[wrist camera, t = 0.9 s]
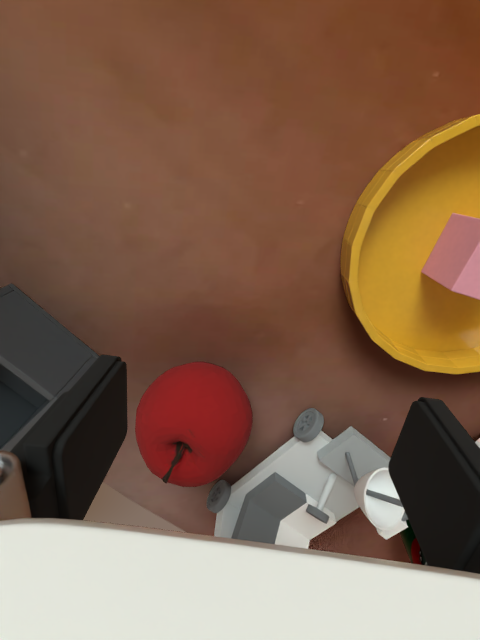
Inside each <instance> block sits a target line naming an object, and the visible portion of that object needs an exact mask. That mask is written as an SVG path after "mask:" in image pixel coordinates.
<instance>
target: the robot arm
mask: <svg viewBox="0 0 480 640" xmlns="http://www.w3.org/2000/svg"><path fill="white" fill-rule="evenodd" d="M126 433H127V369H126V363H125V362H121V358H120V357H117V356H110V355H101V356H99V358H98V359H97V360H96V361H95V362H94V363H93V364H92V366H91V367H90V368H89V369H88V370H87V371H86V372H85V373H84V375H83V376H82V377H81V378H80V379H79V380H78V381H77V383H76V384H75V385H74V386H73V387H72V388H71V389H70V390H69V391H67V392H64V393H63V394H62V395H61V396H60V397H59V398H58V399H57V400H56V401H55V402H54V403H53V404H52V406H51V407H50V408H49V409H48V410H47V411H46V412H45V413H44V414H43V415H42V417H41V418H40V419H39V420H38V421H37V422H36V423H35V424H34V425H33V427H32V428H31V429H30V430H29V431H28V432H27V433H26V434H25V435H24V437H23V438H22V439H21V440H20V441H19V442H18V443H17V444H16V445H15V446H14V448H13V449H12V450H11V451H10V452H8V451H3V450H0V640H480V448H479V447H478V445H477V444H476V443H475V442H474V440H473V439H472V438H471V437H470V435H469V434H468V433H467V431H466V430H465V429H464V428H463V426H462V425H461V424H460V423H459V421H458V420H457V419H456V418H455V416H454V415H453V414H452V413H451V411H450V410H449V409H448V407H447V406H446V405H445V404H444V402H443V401H441V400H439V399H432V398H424V397H421V398H419V399H418V401H414V402H413V403H412V405H411V407H410V410H409V413H408V415H407V418H406V420H405V423H404V425H403V428H402V430H401V433H400V436H399V438H398V441H397V443H396V446H395V448H394V451H393V453H392V456H391V459H390V461H389V465H388V470H389V475H390V477H391V480H392V482H393V484H394V487H395V489H396V491H397V494H398V496H399V498H400V501H401V503H402V505H403V508H404V510H405V513H406V515H407V517H408V520H409V522H410V524H411V527H412V529H413V531H414V534H415V536H416V539H417V541H418V543H419V546H420V548H421V550H422V553H423V555H424V557H425V560H426V562H427V564H428V566H426V565H419V564H412V563H405V562H398V561H391V560H384V559H377V558H370V557H363V556H356V555H349V554H342V553H334V552H327V551H320V550H313V549H305V548H298V547H291V546H283V545H276V544H269V543H261V542H254V541H246V540H239V539H232V538H224V537H216V536H209V535H201V534H193V533H186V532H178V531H170V530H163V529H155V528H147V527H139V526H131V525H121V524H113V523H104V522H95V521H86V520H83V519H84V517H85V515H86V513H87V511H88V509H89V507H90V505H91V503H92V501H93V499H94V497H95V495H96V493H97V492H98V490H99V488H100V485H101V484H102V482H103V480H104V478H105V476H106V474H107V472H108V470H109V468H110V466H111V464H112V462H113V460H114V459H115V457H116V455H117V453H118V451H119V449H120V447H121V445H122V443H123V441H124V439H125V437H126Z"/></svg>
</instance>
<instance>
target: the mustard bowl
mask: <svg viewBox="0 0 480 640" xmlns="http://www.w3.org/2000/svg"><path fill="white" fill-rule="evenodd" d="M452 213H456V214H460V215H465V216H470V217H474V218H479V219H480V114H479V115H474V116H470V117H466V118H462V119H459V120H455V121H452V122H450V123H448V124H446V125H444V126H441V127H439V128H437V129H435V130H433V131H431V132H428V133H426V134H425V135H423V136H421V137H420V138H418V139H416V140H414V141H413V142H412V143H410V144H408V145H407V146H406V147H405V148H403V149H402V150H401V151H400V152H398V153H397V154H396V155H394V156H393V157H392V158H391V159H390V160H389V161H388V162H387V163H386V164H385V165H384V166H383V167H382V168H381V169H380V170H379V171H378V172H377V174H376V175H375V176H374V177H373V179H372V180H371V181H370V182H369V183H368V185H367V186H366V188H365V189H364V191H363V193H362V194H361V196H360V197H359V199H358V201H357V203H356V205H355V207H354V209H353V211H352V213H351V215H350V218H349V221H348V223H347V226H346V229H345V233H344V237H343V242H342V247H341V259H340V265H341V278H342V283H343V288H344V291H345V294H346V297H347V301H348V304H349V305H350V307H351V308H352V310H353V312H354V313H355V315H356V316H357V318H358V320H359V321H360V323H361V325H362V326H363V328H364V329H365V331H366V332H367V334H368V335H369V337H370V338H371V339H372V341H374V342H375V343H376V344H377V345H378V346H380V347H381V348H382V349H383V350H384V351H386V352H387V353H388V354H389V355H391V356H392V357H393V358H395V359H396V360H399V361H401V362H404V363H406V364H409V365H411V366H414V367H416V368H418V369H421V370H424V371H430V372H439V373H448V374H464V373H473V372H480V300H478V299H475V298H472V297H469V296H465V295H462V294H459V293H456V292H453V291H450V290H449V289H447V288H446V287H444V286H442V285H441V284H439V283H438V282H436V281H435V280H433V279H431V278H430V277H428V276H427V275H425V274H423V273H422V272H421V271H422V269H423V267H424V265H425V263H426V261H427V260H428V258H429V256H430V254H431V252H432V250H433V248H434V246H435V245H436V243H437V241H438V239H439V237H440V235H441V233H442V232H443V230H444V228H445V226H446V224H447V222H448V220H449V219H450V217H451V215H452Z"/></svg>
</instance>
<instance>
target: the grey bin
mask: <svg viewBox="0 0 480 640" xmlns="http://www.w3.org/2000/svg"><path fill="white" fill-rule="evenodd" d="M98 358H99V356H98V355H97V354H96V353H95V352H94V351H92V350H91V349H90V348H89V347H88V346H86V345H85V344H84V343H83V342H82V341H80V340H79V339H78V338H77V337H76V336H74V335H73V334H72V333H71V332H70V331H68V330H67V329H66V328H65V327H64V326H62V325H61V324H60V323H59V322H58V321H56V320H55V319H54V318H53V317H52V316H50V315H49V314H48V313H47V312H46V311H44V310H43V309H42V308H41V307H40V306H38V305H37V304H36V303H35V302H33V301H32V300H31V299H30V298H29V297H27V296H26V295H25V294H24V293H23V292H21V291H20V290H19V289H18V288H17V287H15V286H14V285H13V284H9V285H7V286H5V287H3V288H1V289H0V450H3V451H8V452H10V451H11V450H12V449H13V448H14V446H15V445H16V444H17V443H18V442H19V441H20V440H21V439H22V438H23V437H24V435H25V434H26V433H27V432H28V431H29V430H30V429H31V428H32V427H33V425H34V424H35V423H36V422H37V421H38V420H39V419H40V418H41V417H42V415H43V414H44V413H45V412H46V411H47V410H48V409H49V408H50V407H51V406H52V404H53V403H54V402H55V401H56V400H57V399H58V398H59V397H60V396H61V395H62V394H63V393H64V392H67V391H69V390H70V389H71V388H72V387H73V386H74V385H75V384H76V383H77V381H78V380H79V379H80V378H81V377H82V376H83V375H84V373H85V372H86V371H87V370H88V369H89V368H90V367H91V366H92V364H93V363H94V362H95V361H96V360H97V359H98Z"/></svg>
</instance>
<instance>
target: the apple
mask: <svg viewBox="0 0 480 640" xmlns="http://www.w3.org/2000/svg"><path fill="white" fill-rule="evenodd" d="M251 428H252V410H251V406H250V402H249V399H248V397H247V395H246V393H245V391H244V390H243V388H242V387H241V385H240V383H239V382H238V380H237V379H236V378H235V377H234V376H233V375H232V374H231V373H230V372H229V371H227V370H226V369H224V368H223V367H220V366H217V365H214V364H210V363H206V362H193V363H188V364H184V365H180V366H177V367H173V368H171V369H169V370H168V371H166V372H165V373H163V374H162V375H161V376H159V377H158V378H157V379H156V380H155V381H154V382H153V383H152V384H151V385H150V386H149V388H148V389H147V390H146V392H145V393H144V395H143V396H142V398H141V400H140V403H139V405H138V408H137V413H136V426H135V432H136V440H137V443H138V446H139V450H140V453H141V455H142V457H143V459H144V461H145V463H146V465H147V467H148V468H149V470H150V471H151V472H152V473H153V474H155V475H156V476H158V477H159V478H161V479H162V480H163V481H164V482H165V483H167V482H168V483H172V484H175V485H179V486H182V487H197V486H201V485H205V484H208V483H210V482H212V481H214V480H216V479H218V478H219V477H220V476H221V475H222V474H223V473H224V472H225V471H226V470H227V469H228V468H229V467H230V466H231V465H232V464H233V463H234V462H235V461H236V460H237V458H238V457H239V455H240V454H241V453H242V451H243V449H244V447H245V445H246V443H247V442H248V439H249V436H250V433H251Z"/></svg>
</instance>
